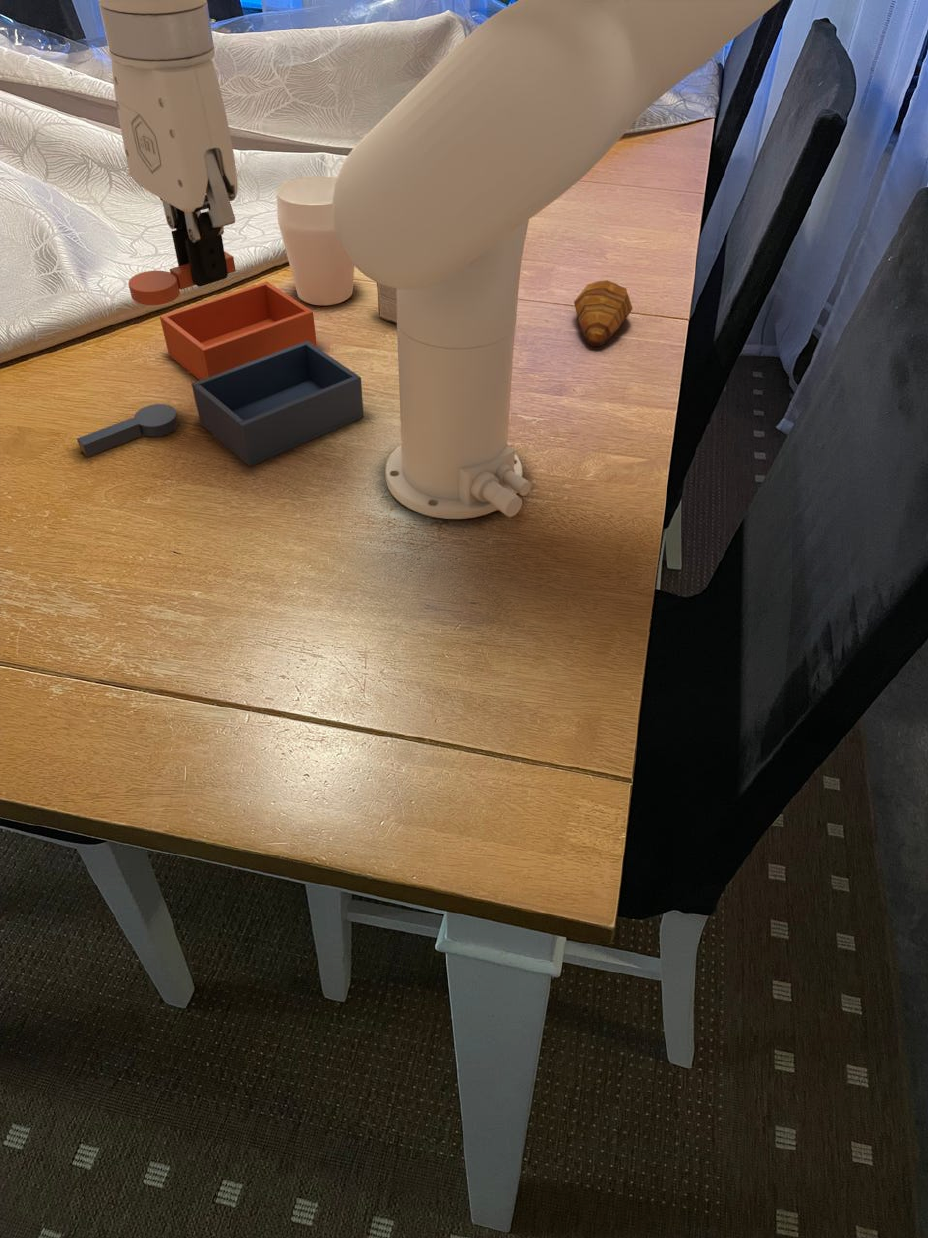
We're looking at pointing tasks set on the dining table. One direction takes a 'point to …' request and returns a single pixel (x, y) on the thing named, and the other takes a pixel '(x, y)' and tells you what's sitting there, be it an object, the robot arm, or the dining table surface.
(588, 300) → the croissant
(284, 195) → the cup
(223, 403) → the blue bin
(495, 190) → the robot arm
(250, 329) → the terracotta bin
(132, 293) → the terracotta spoon
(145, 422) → the blue spoon
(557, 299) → the dining table surface
